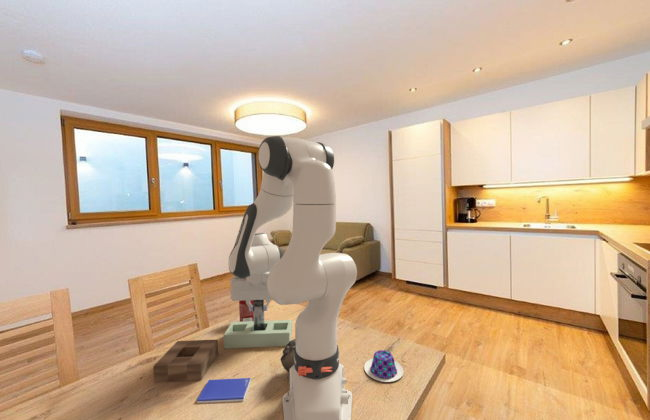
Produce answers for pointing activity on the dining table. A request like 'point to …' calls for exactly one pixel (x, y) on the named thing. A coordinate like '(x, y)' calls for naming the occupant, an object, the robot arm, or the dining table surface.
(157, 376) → the socket block
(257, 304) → the salt shaker
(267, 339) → the tool rack
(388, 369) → the pudding
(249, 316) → the soda can
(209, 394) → the blue book
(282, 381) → the dining table surface
